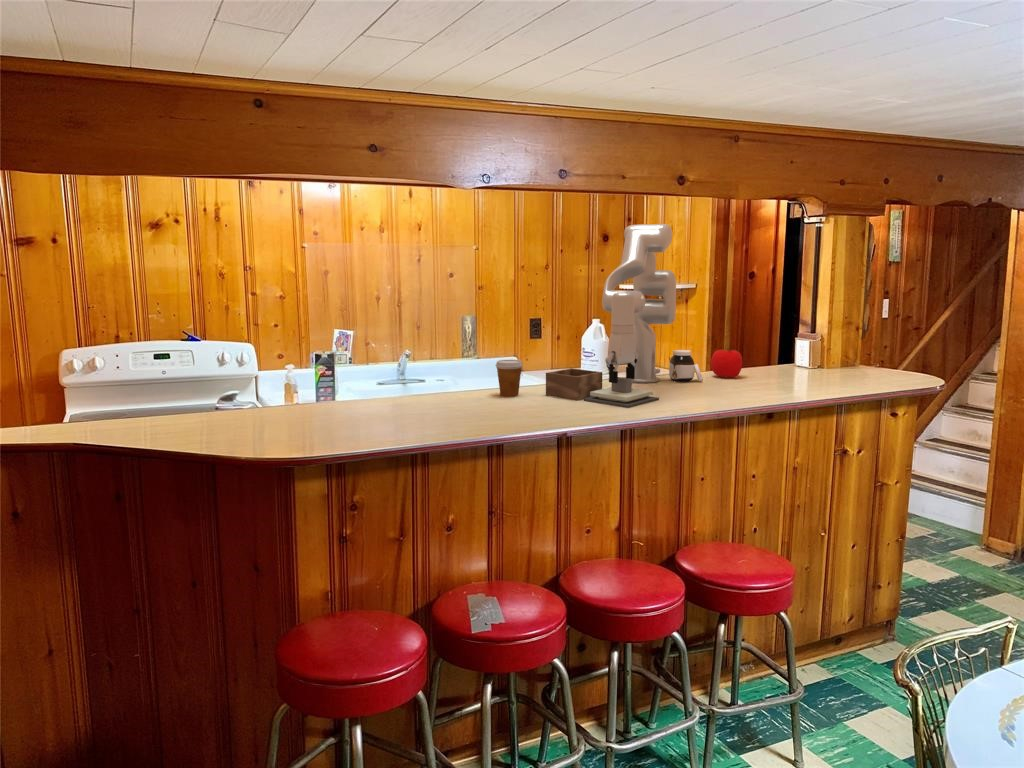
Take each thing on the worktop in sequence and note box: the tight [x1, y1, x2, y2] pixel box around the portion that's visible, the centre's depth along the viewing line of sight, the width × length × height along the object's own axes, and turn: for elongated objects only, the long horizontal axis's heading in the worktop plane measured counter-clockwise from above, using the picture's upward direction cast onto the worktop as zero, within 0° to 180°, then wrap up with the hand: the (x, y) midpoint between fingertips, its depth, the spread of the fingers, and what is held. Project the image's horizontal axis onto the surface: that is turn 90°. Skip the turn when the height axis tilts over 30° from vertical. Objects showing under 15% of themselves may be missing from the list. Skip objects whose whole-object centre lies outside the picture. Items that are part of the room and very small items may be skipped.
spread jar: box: [668, 349, 703, 383], centre depth 284 cm, size 12×11×12 cm
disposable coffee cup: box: [495, 359, 523, 398], centre depth 257 cm, size 10×10×12 cm
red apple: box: [710, 348, 743, 379], centre depth 292 cm, size 12×13×12 cm
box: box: [545, 367, 603, 401], centre depth 257 cm, size 14×14×8 cm
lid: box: [590, 376, 654, 402], centre depth 247 cm, size 15×15×7 cm
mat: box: [583, 395, 660, 409], centre depth 247 cm, size 18×18×1 cm
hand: (621, 380), depth 246 cm, fingers open, 9 cm apart
